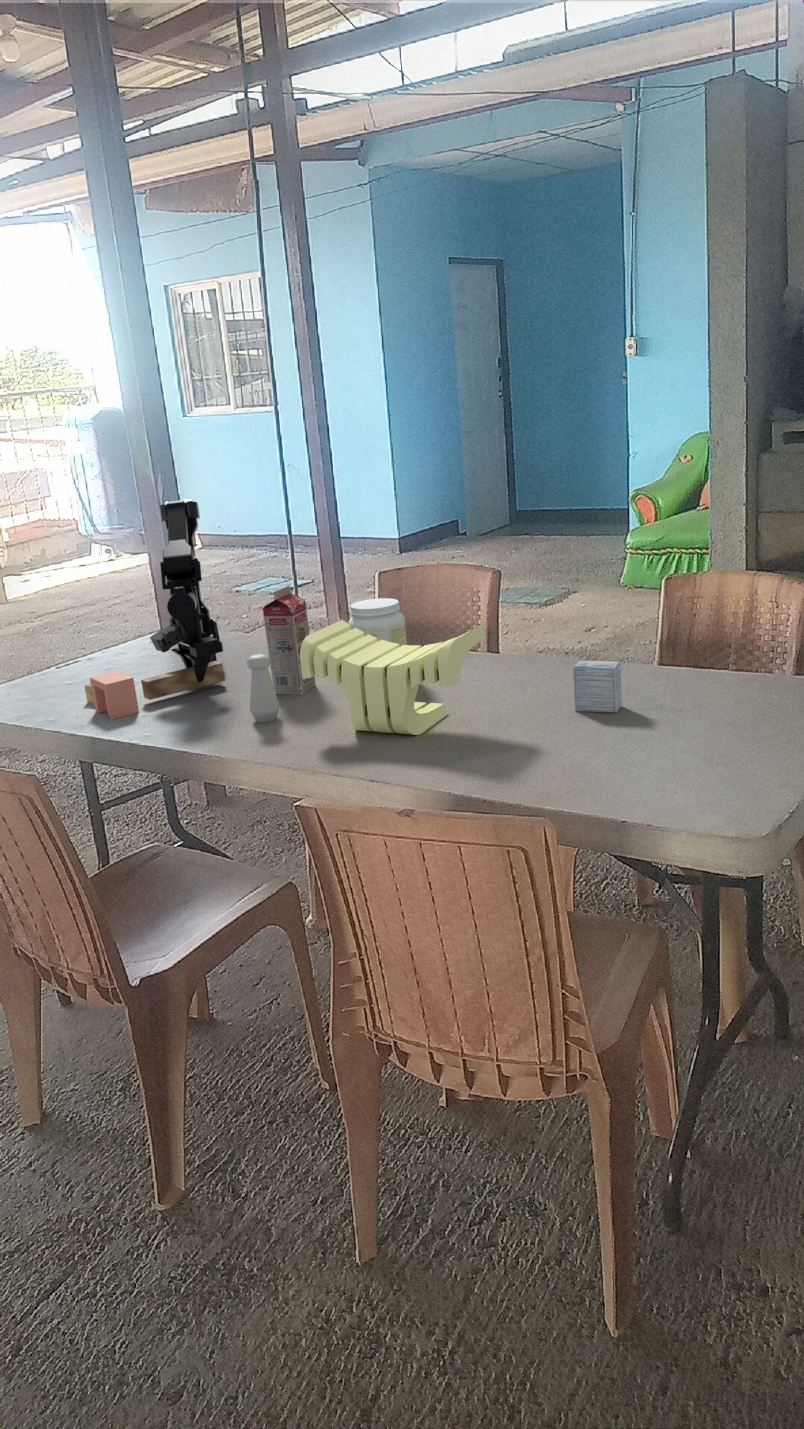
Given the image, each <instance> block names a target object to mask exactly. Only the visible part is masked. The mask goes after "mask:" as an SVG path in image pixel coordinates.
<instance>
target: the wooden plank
mask: <svg viewBox="0 0 804 1429" xmlns="http://www.w3.org/2000/svg"><path fill="white" fill-rule="evenodd" d="M225 680H226V679H225V673H224V666H223V662H220V661H218V660H217V661H214V662H210V663H209V664H208V667H207V670H206V673H205V677H204V680H203V681H202V682H198V681H197V678H196V674H195V671H194V667H190V668H183V669H179V670H174V671H171V672H167V673H162V674H158V675H155V676H151V677H146V678H142V679H141V680H140V681H141V688H142V693H143V697H144V699H146V700H149V701H150V700H155V699H159V698H163V697H166V696H171V695H174V694H178V693H182V692H186V691H189V690H194V689H197V688H201V687H205V686H209V685H213V684H217V683H220V682H224V681H225Z"/></svg>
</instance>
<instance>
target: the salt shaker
mask: <svg viewBox="0 0 804 1429" xmlns="http://www.w3.org/2000/svg"><path fill="white" fill-rule="evenodd" d="M246 661H247V662H246V664H247V668H248V669H249V670H251V679H250V680H251V681H250V683H251V684H250V697H249V698H250V701H249V711H250V714H251V715H252V716H253V718H254V720H255V721H256V723H262V724H265V723H270V722H271V723H272V722H274V721H275V720H276V719H278V715H279V712H280V708H281V707H280V703H279V698H278V697H277V694H276V693H275V690H274V687H273V683H272V676H271V675H270V671H269V669H268V667H269V666H270V660H269V655H266V654H263V653H260V654H259V653H258V654H253V655H251V656H249V657H248V658H247V660H246Z"/></svg>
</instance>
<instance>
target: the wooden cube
mask: <svg viewBox="0 0 804 1429" xmlns="http://www.w3.org/2000/svg"><path fill="white" fill-rule="evenodd" d="M84 692H85V696H86V701H87V703H88V704H94V698H93V693H92V688H91V682H90V683H88V684H84Z"/></svg>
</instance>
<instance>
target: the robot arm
mask: <svg viewBox="0 0 804 1429" xmlns="http://www.w3.org/2000/svg"><path fill="white" fill-rule="evenodd" d="M159 509H160V510H159V511H160V516H161V522H162V523H165V526H166V530H167V535H168V536H167V538H168V540H167V541H168V545H166V546H165V547H164V549H163V550H162V559H161V560H160V561H159V563H160V575H161V577H160V578H161V587H162V590H170V591H169V599H168V601H167V606H166V607H167V612H168V614H169V615H170V617H169V625H167V626H165V627H162V629H160V630H159V631H157V632H155V633H154V634H152V635H151V636H150V637H149V639H150V641H151V642H152V644H153V646H154V648H155V649H156V651H160V652H161V653H166V652H169V651H170V649H171V652H173V653H174V654H176V655H177V656H179V657H180V659H181V661H182V662H183V664H184V669H186V668H190V667H194V671H195V674H196V678H197V681H198V682H202V681H203V680H204V677H205V673H206V670H207V667H208V664H209V663H210V662H214V661H218V660H217V659H218V658H217V654H219V653H222V652H224V646H223V642H222V641H221V640H220V634H219V628H218V624H217V623H218V622H216V621H215V619H214V616H212V617H211V611H210V609H209V608H208V607H207V606H206V604H205V603H204V602H203V599H202V595H201V594H202V593H201V586H200V582H202V580H203V579H202V567H201V565H202V564H201V561H200V560H198V557H197V556H196V551H195V550H196V549H195V543H194V536H195V535H196V532H197V530H198V528H199V523H198V520H199V519H200V514H201V513H200V508H199V503H198V501H193V499H192V498H188V499H179V500H178V499H177V500H169V501H165V502H164V504H161V505H159Z"/></svg>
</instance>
